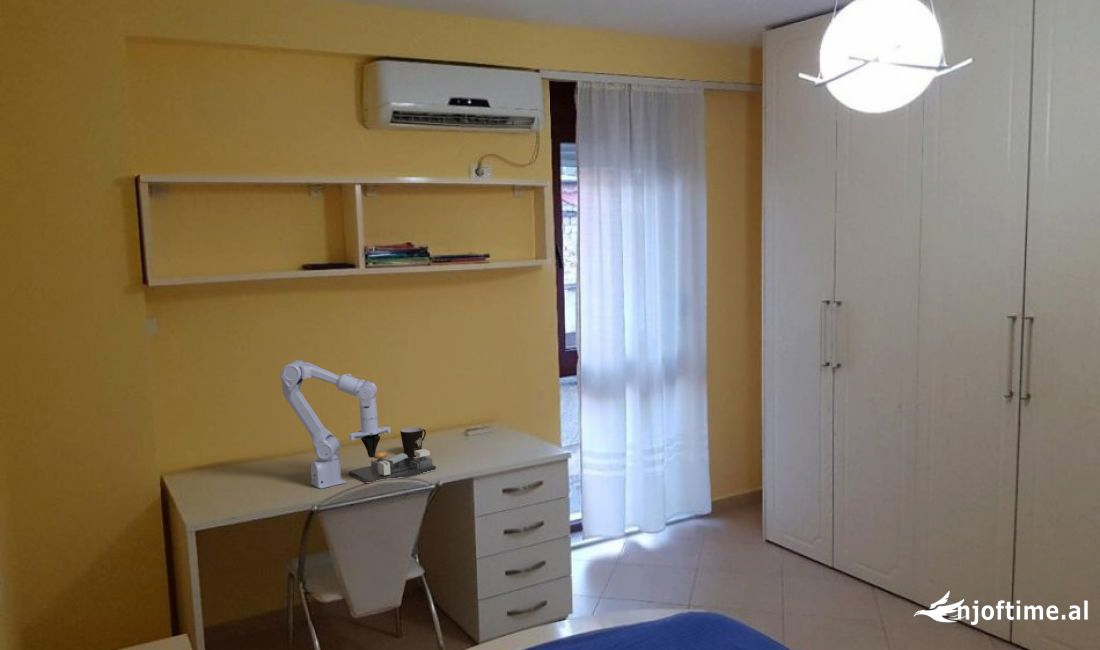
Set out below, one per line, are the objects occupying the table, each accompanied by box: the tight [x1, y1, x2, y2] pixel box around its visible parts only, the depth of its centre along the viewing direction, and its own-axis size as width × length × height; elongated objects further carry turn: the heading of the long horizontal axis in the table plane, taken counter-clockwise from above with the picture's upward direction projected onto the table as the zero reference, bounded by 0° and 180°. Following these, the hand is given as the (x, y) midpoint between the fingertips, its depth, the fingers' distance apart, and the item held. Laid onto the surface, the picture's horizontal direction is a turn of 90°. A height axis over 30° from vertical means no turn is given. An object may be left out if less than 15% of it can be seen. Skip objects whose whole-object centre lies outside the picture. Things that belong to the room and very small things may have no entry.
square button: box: [414, 448, 431, 460], centre depth 296 cm, size 4×4×4 cm
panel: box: [348, 456, 437, 483], centre depth 294 cm, size 25×18×4 cm
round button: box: [373, 450, 387, 462], centre depth 296 cm, size 4×4×4 cm
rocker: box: [387, 452, 409, 464], centre depth 300 cm, size 6×4×1 cm, turn 128°
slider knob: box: [378, 461, 391, 475], centre depth 287 cm, size 2×4×4 cm, turn 38°
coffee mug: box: [399, 426, 427, 458], centre depth 318 cm, size 12×9×10 cm
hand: (371, 456), depth 284 cm, fingers closed
